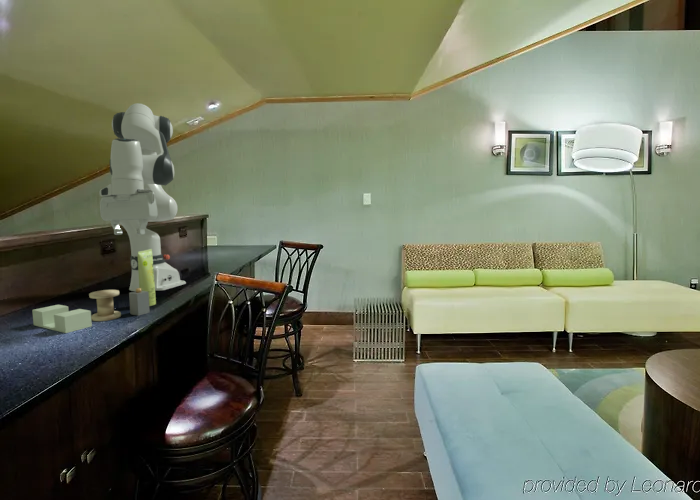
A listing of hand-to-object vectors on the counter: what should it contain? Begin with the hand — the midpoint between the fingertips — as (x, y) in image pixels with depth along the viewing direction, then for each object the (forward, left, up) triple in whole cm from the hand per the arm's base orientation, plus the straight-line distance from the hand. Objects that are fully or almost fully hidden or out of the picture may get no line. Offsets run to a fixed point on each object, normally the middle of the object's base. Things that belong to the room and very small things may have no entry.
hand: (129, 234), depth 125 cm
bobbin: (+6, -5, -26) cm, 27 cm away
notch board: (+17, -8, -26) cm, 32 cm away
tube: (-10, -7, -26) cm, 29 cm away
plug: (-2, 0, -26) cm, 26 cm away
